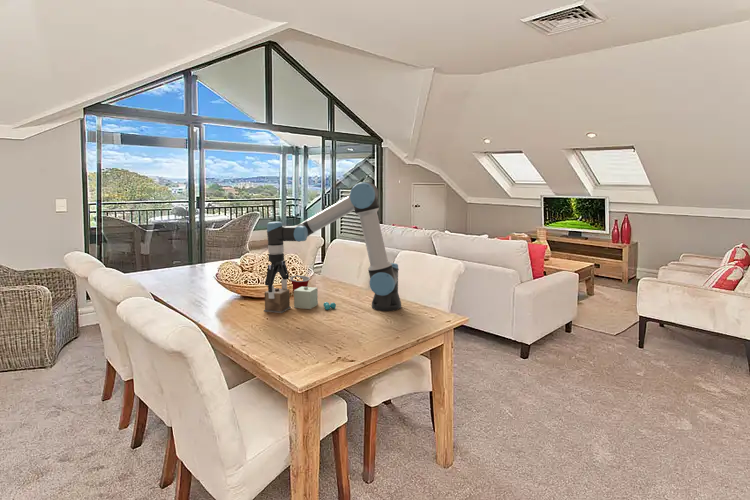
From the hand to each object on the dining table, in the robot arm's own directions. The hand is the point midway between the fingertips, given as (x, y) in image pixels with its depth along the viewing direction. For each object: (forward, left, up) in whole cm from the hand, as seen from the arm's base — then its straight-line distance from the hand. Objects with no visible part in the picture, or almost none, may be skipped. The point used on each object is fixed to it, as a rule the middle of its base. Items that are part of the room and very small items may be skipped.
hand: (278, 295), depth 238 cm
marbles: (-18, -9, -7) cm, 21 cm away
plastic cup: (-1, -22, -8) cm, 23 cm away
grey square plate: (+1, 0, -7) cm, 7 cm away
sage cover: (-10, -10, -7) cm, 16 cm away
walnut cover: (+1, 0, -7) cm, 7 cm away
